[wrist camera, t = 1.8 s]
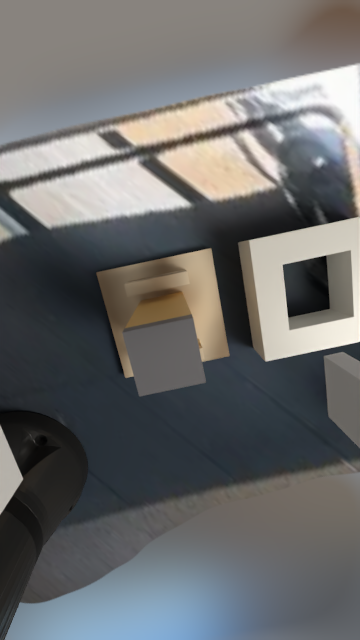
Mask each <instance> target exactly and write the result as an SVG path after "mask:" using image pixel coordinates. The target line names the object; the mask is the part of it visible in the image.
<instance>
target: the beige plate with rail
mask: <svg viewBox="0 0 360 640" xmlns="http://www.w3.org/2000/svg"><path fill="white" fill-rule="evenodd" d="M96 274H97V277H98V281H99V285H100V288H101V292H102V295H103V299H104V303H105V306H106V310H107V313H108V317H109V320H110V324H111V328H112V331H113V335H114V338H115V342H116V346H117V349H118V353H119V356H120V360H121V364H122V367H123V371H124V374H125V378H127V377H132V376H134V375H133V371H132V367H131V364H130V360H129V356H128V353H127V349H126V345H125V341H124V338H123V334H122V332H123V330H124V329H125V327H126V325H127V323H128V322H129V320H130V318H131V316H132V315H133V313H134V311H135V309H136V308H137V306H138V304H139V302H140V301H141V300H145V299H150V298H154V297H159V296H164V295H169V294H173V293H178V292H183V294H184V297H185V299H186V302H187V304H188V306H189V309H190V311H191V314H192V316H193V320H194V325H195V330H196V335H197V340H198V345H199V350H200V355H201V360H202V362H203V361H208V360H213V359H218V358H222V357H227V356H229V350H228V345H227V339H226V333H225V327H224V321H223V315H222V309H221V303H220V298H219V292H218V286H217V280H216V274H215V268H214V262H213V257H212V251H211V248H209V249H204V250H200V251H195V252H190V253H186V254H181V255H176V256H171V257H167V258H162V259H157V260H152V261H148V262H143V263H138V264H134V265H129V266H124V267H119V268H115V269H110V270H105V271H100V272H96Z"/></svg>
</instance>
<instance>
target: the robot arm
mask: <svg viewBox="0 0 360 640" xmlns="http://www.w3.org/2000/svg"><path fill="white" fill-rule="evenodd" d="M324 365H325V378H326V391H327V404H328V416H329V417H330V418H331V419H332V420H333V421H334V422H335V424H336V425H337V426H338V427H339V428H340V429H341V430H342V431H343V432H344V433H345V434H346V435H347V436H348V437H349V438H350V439H351V440H352V441H353V442H354V443H355V444H356V445H357V446H358V447H359V448H360V361H358V360H356V359H354V358H353V357H351V356H349V355H347V354H345V353H344V352H341V353H336V354H331V355H327V356H324ZM87 474H88V462H87V457H86V454H85V451H84V449H83V447H82V445H81V443H80V442H79V440H78V439H77V438H76V436H75V435H74V434H73V433H72V432H71V431H70V430H69V429H67V428H66V427H65V426H63V425H62V424H61V423H59V422H57V421H55V420H53V419H51V418H49V417H46V416H44V415H40V414H36V413H31V412H7V413H2V414H0V640H4V639H5V636H6V634H7V632H8V629H9V627H10V625H11V622H12V620H13V617H14V615H15V612H16V610H17V608H18V605H19V603H20V600H21V598H22V595H23V593H24V591H25V588H26V586H27V583H28V581H29V578H30V576H31V574H32V571H33V569H34V566H35V564H36V562H37V559H38V557H39V555H40V552H41V550H42V548H43V546H44V545H45V543H46V542H47V541H48V539H49V538H50V537H51V535H52V534H53V533H54V531H55V530H56V528H57V527H58V525H59V524H60V522H61V521H62V520H63V519H64V518H65V517H66V516H67V515H68V514H69V513H70V512H71V510H72V509H73V508H74V506H75V505H76V503H77V501H78V500H79V498H80V495H81V493H82V490H83V487H84V484H85V482H86V478H87Z"/></svg>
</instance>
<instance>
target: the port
mask: <svg viewBox="0 0 360 640" xmlns="http://www.w3.org/2000/svg"><path fill="white" fill-rule="evenodd" d="M238 247H239V254H240V261H241V267H242V274H243V281H244V288H245V295H246V302H247V309H248V315H249V322H250V329H251V336H252V343H253V348H254V349H255V351H256V352H257V353H258V354H259V355H260V356H261V357H262V358H263V359H264V360H265V361H271V360H275V359H280V358H285V357H290V356H294V355H299V354H304V353H309V352H313V351H318V350H323V349H328V348H333V347H337V346H342V345H347V344H352V343H356V342H360V217H356V218H351V219H346V220H342V221H337V222H332V223H327V224H323V225H318V226H313V227H308V228H304V229H299V230H294V231H290V232H285V233H280V234H275V235H271V236H266V237H261V238H256V239H252V240H247V241H242V242H238ZM321 256H327V271H328V286H329V300H330V309H327V310H322V311H317V312H313V313H308V314H303V315H298V316H294V317H289V318H288V313H287V303H286V294H285V285H284V276H283V266H282V265H283V264H288V263H292V262H297V261H302V260H307V259H311V258H316V257H321Z"/></svg>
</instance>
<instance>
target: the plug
mask: <svg viewBox="0 0 360 640" xmlns="http://www.w3.org/2000/svg"><path fill="white" fill-rule="evenodd" d="M122 334H123V338H124V341H125V345H126V349H127V353H128V356H129V360H130V364H131V367H132V371H133V375H134V378H135V382H136V386H137V390H138V393H139V396H144V395H149V394H154V393H158V392H163V391H168V390H173V389H177V388H182V387H187V386H192V385H196V384H201V383H206V380H205V375H204V370H203V365H202V360H201V355H200V350H199V345H198V340H197V335H196V330H195V325H194V320H193V316H192V314H191V311H190V309H189V306H188V304H187V302H186V299H185V297H184V294H183V292H178V293H173V294H169V295H164V296H159V297H154V298H150V299H145V300H141V301H140V302H139V304H138V306H137V308H136V309H135V311H134V313H133V315H132V316H131V318H130V320H129V322H128V323H127V325H126V327H125V329H124V330H123V332H122Z"/></svg>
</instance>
